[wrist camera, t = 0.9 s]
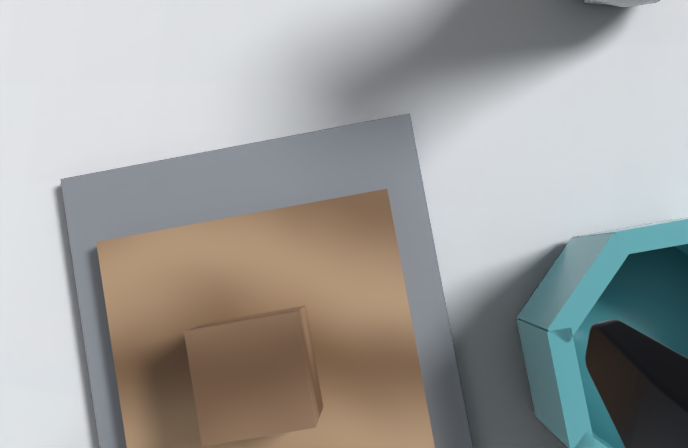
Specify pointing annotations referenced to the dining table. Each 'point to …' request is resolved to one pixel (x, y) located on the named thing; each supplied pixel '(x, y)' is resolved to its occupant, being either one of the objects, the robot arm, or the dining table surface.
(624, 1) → the salt shaker
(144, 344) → the lid
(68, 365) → the dining table surface
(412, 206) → the mat
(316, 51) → the dining table surface
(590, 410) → the bowl
